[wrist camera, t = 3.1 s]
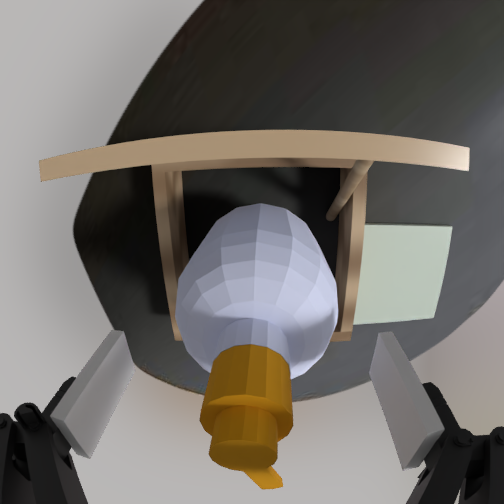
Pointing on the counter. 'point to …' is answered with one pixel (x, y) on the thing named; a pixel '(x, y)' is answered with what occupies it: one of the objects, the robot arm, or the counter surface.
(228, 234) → the soap bottle
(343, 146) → the lid
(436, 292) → the trivet
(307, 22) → the counter surface
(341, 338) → the frame
